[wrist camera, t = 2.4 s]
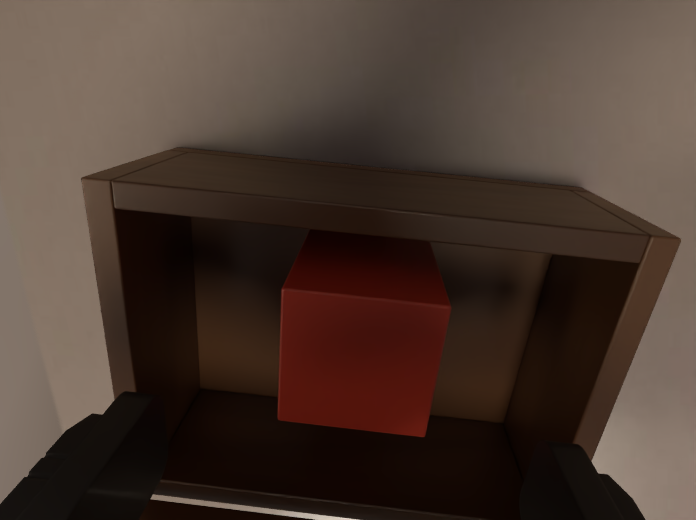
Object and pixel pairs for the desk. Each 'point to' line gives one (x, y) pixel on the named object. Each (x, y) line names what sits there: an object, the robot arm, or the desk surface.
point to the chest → (459, 347)
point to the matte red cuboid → (361, 333)
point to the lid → (201, 513)
